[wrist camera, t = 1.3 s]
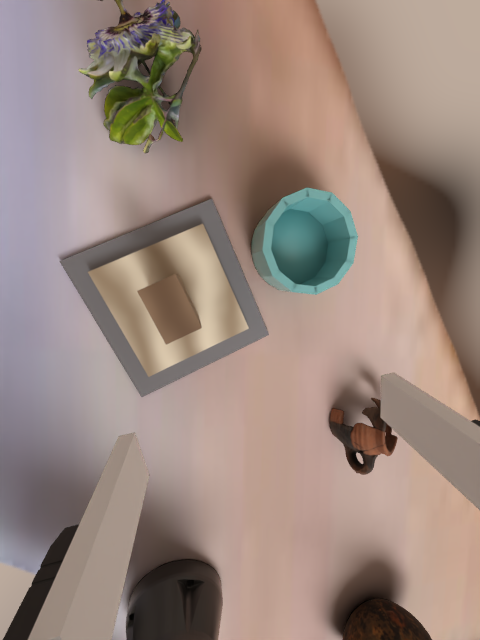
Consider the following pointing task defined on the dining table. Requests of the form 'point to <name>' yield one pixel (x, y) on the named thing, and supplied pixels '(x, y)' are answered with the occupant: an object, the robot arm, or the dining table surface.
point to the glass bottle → (383, 623)
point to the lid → (171, 299)
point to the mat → (139, 240)
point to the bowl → (305, 242)
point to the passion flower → (122, 64)
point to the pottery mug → (364, 438)
